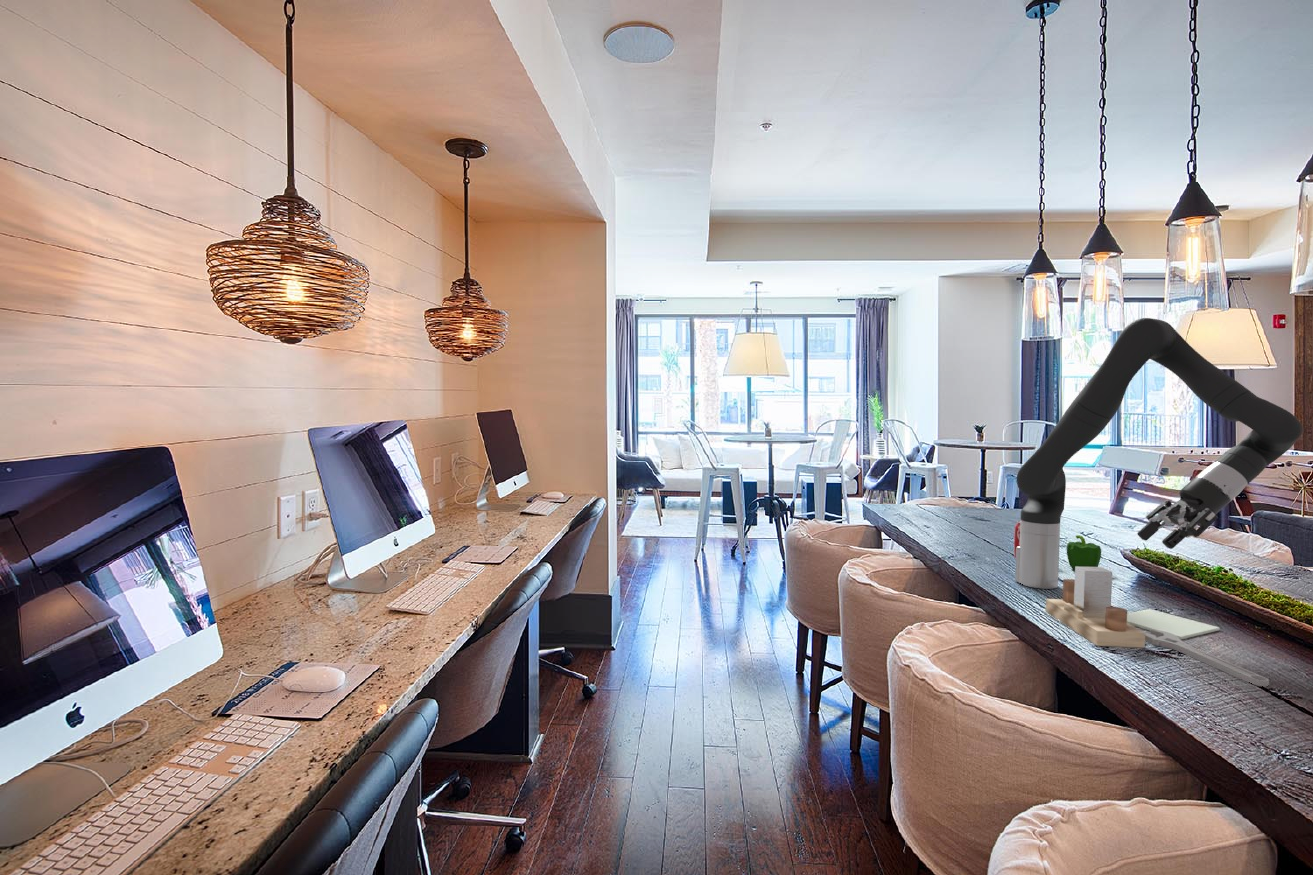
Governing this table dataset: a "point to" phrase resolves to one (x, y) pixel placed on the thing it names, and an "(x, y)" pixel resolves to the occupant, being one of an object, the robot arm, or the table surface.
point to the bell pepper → (1083, 553)
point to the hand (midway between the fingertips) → (1153, 541)
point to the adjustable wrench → (1203, 656)
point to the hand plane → (1095, 621)
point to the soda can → (1017, 537)
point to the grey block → (1092, 590)
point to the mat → (1168, 623)
